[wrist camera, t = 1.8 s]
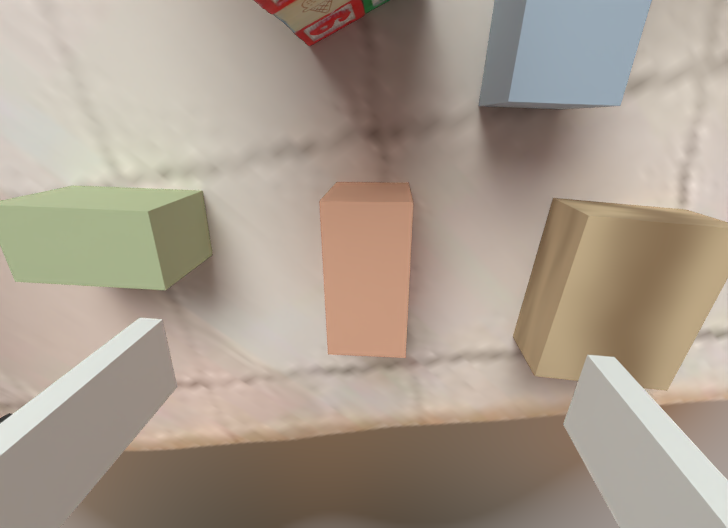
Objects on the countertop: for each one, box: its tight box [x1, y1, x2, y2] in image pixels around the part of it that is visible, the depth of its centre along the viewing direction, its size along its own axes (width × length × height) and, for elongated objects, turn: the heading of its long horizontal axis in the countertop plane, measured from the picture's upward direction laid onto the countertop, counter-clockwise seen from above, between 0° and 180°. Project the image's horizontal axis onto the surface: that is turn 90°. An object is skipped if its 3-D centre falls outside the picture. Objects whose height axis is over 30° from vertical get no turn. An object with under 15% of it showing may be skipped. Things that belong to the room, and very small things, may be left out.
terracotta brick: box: [319, 182, 413, 358], centre depth 19 cm, size 8×4×5 cm, turn 0°
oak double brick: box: [513, 198, 728, 391], centre depth 19 cm, size 7×9×4 cm
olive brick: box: [0, 186, 213, 290], centre depth 19 cm, size 8×4×5 cm, turn 89°
